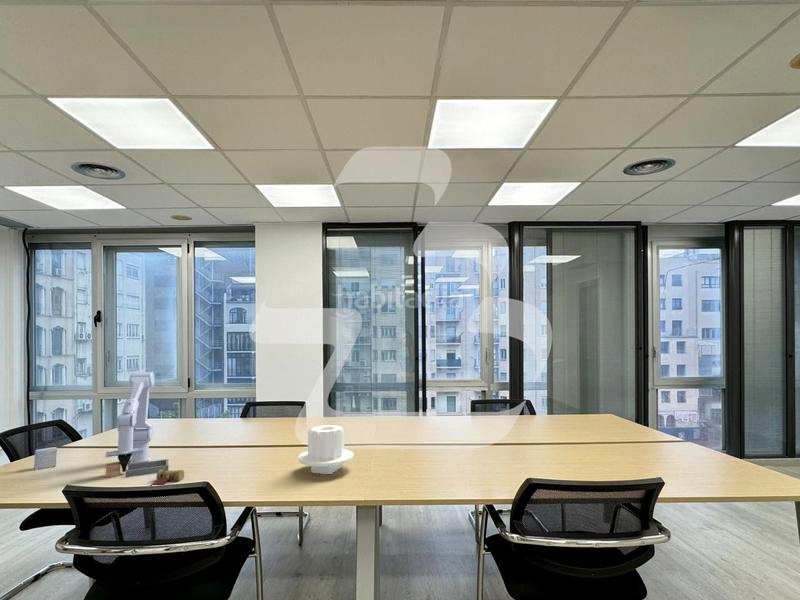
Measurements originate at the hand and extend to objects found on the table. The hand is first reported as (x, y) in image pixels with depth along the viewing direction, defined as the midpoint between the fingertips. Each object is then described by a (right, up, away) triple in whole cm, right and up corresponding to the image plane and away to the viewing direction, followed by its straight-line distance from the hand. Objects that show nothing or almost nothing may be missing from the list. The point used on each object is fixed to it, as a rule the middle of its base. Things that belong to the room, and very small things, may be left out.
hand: (124, 471), depth 190 cm
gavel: (+25, 0, -17) cm, 31 cm away
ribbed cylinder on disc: (+91, -1, +2) cm, 91 cm away
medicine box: (-44, -3, +10) cm, 45 cm away
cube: (-4, -1, -2) cm, 4 cm away
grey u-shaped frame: (+8, -1, +4) cm, 9 cm away
